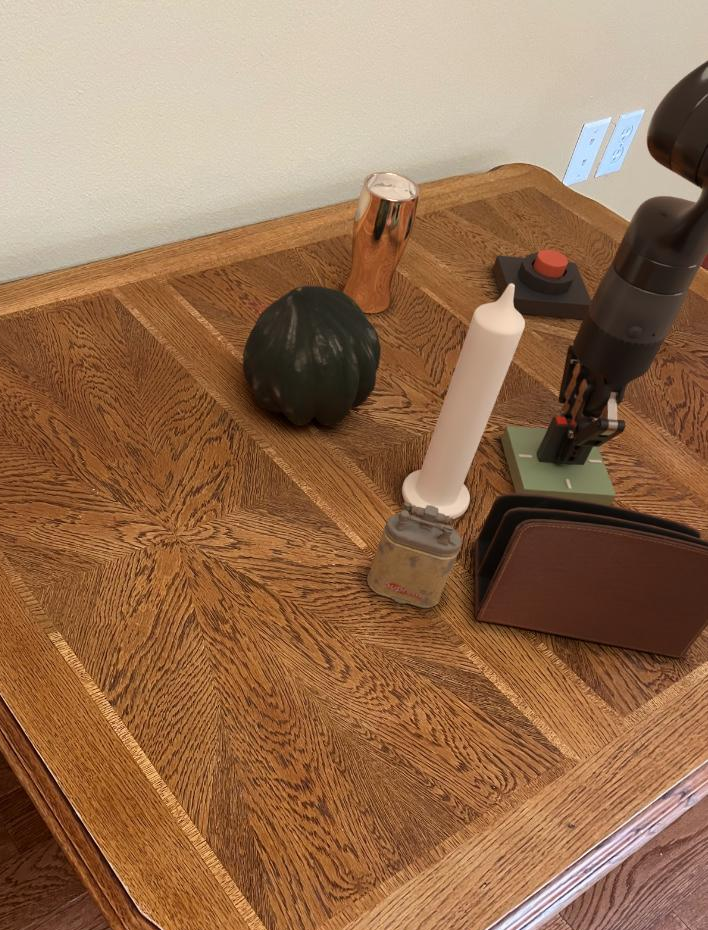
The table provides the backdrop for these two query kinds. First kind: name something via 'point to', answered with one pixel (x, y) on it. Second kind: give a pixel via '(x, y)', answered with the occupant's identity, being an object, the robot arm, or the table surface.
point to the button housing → (542, 288)
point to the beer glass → (380, 237)
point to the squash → (312, 356)
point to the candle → (467, 407)
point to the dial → (559, 441)
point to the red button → (550, 263)
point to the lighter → (414, 556)
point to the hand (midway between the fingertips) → (561, 454)
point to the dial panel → (554, 470)
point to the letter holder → (592, 573)
